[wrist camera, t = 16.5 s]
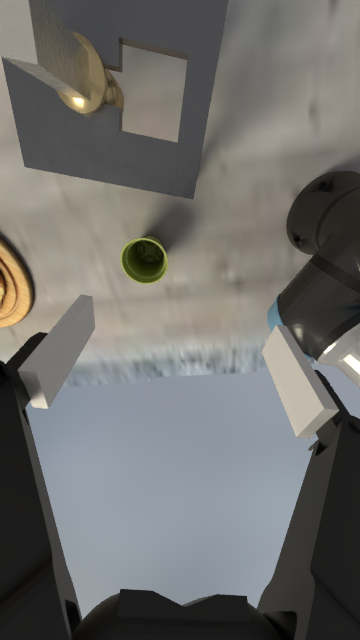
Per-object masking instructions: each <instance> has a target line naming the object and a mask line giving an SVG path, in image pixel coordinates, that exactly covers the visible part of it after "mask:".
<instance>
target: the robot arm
mask: <svg viewBox="0 0 360 640" xmlns="http://www.w3.org/2000/svg"><path fill="white" fill-rule="evenodd" d="M287 234H288V237H289V240H290V241H291V243H292V244H293V245H294V246H295V247H296V248H297V249H299V250H300V251H302V252H304V253H306V254H309V255H314V256H313V257H312V258H311V259H310V260H309V261H308V263H307V264H306V265H305V266H304V267H303V268H302V270H301V271H300V272H299V273H298V274H297V275H296V277H295V278H294V279H293V280H292V281H291V282H290V284H289V285H288V286H287V287H286V288H285V289H284V290H283V292H282V293H281V294H279V295H278V296H277V298H276V301H275V302H274V303H273V305H272V306H271V307H270V308H269V310H268V313H267V322H268V325H269V327H270V329H271V331H272V333H271V335H270V337H269V339H268V341H267V343H266V345H265V346H264V348H263V350H262V354H263V356H264V359H265V361H266V364H267V366H268V368H269V371H270V373H271V376H272V378H273V381H274V383H275V386H276V388H277V390H278V393H279V395H280V398H281V400H282V403H283V405H284V408H285V410H286V413H287V415H288V418H289V420H290V422H291V425H292V427H293V430H294V432H295V435H296V437H302V438H310V437H311V436H313V435H314V434H315V433H316V434H317V436H318V438H319V439H318V440H317V441H316V442H315V443H314V444H313V445H312V446H310V448H309V449H308V450H310V451H311V450H312V449H313V448H314V449H313V452H312V456H311V458H310V462H309V465H308V468H307V471H306V474H305V478H304V480H303V484H302V487H301V490H300V493H299V496H298V499H297V502H296V506H295V509H294V512H293V515H292V518H291V521H290V525H289V528H288V531H287V534H286V537H285V541H284V544H283V547H282V550H281V553H280V556H279V559H278V562H277V565H276V569H275V572H274V575H273V577H272V579H271V581H270V583H269V584H268V585H267V587H266V588H265V590H264V592H263V594H262V596H261V599H260V601H259V604H258V607H257V609H256V608H254V607H253V606H251V605H250V604H249V603H248V602H247V596H237V595H219V594H217V595H212V596H208V597H203V598H199V599H197V600H194V601H192V602H189V603H187V604H184V605H182V606H181V605H179V604H177V603H175V602H173V601H172V600H170V599H168V598H166V597H163V596H161V595H160V594H158V593H156V592H154V591H147V590H128V589H121V590H120V593H118V594H116V595H113V596H111V597H109V598H107V599H106V600H104V601H102V602H101V603H100V604H99V605H97V606H96V607H95V608H94V609H93V610H92V611H91V612H90V613H89V614H88V615H87V616H86V617H85V618H84V619H83V620H82V616H81V613H80V609H79V605H78V601H77V597H76V593H75V590H74V587H73V583H72V580H71V577H70V574H69V571H68V569H67V566H66V562H65V558H64V554H63V550H62V546H61V542H60V539H59V535H58V531H57V527H56V523H55V519H54V516H53V512H52V508H51V504H50V500H49V496H48V492H47V489H46V485H45V481H44V477H43V473H42V469H41V465H40V461H39V458H38V454H37V450H36V446H35V442H34V438H33V435H32V431H31V427H30V423H29V419H28V415H27V411H26V409H25V407H26V405H27V404H28V402H29V401H31V404H32V406H33V407H38V408H47V409H49V407H50V405H51V403H52V402H53V400H54V398H55V397H56V395H57V393H58V392H59V389H60V388H61V386H62V385H63V383H64V381H65V379H66V378H67V376H68V374H69V372H70V371H71V369H72V367H73V365H74V364H75V362H76V360H77V359H78V357H79V355H80V353H81V352H82V350H83V348H84V346H85V345H86V343H87V341H88V339H89V338H90V336H91V334H92V333H93V331H94V329H95V321H94V310H93V298H92V296H86V295H80V296H79V298H78V299H77V300H76V301H75V302H74V303H73V305H72V306H71V307H70V308H69V309H68V311H67V312H66V313H65V314H64V315H63V317H62V318H61V319H60V320H59V321H58V322H57V324H56V325H55V326H54V327H53V328H52V330H51V331H50V332H49V333H42V332H39V333H37V334H36V335H34V336H32V337H30V338H29V339H28V341H27V342H26V343H25V344H24V346H22V347H21V348H20V349H19V351H17V352H16V354H15V355H14V356H13V357H12V358H11V359H10V360H9V361H8V362H7V363H6V364H5V363H4V362H2V361H0V640H360V419H359V418H357V417H354V416H351V415H350V414H349V412H348V411H347V409H346V408H345V406H344V405H343V403H342V402H341V400H340V399H339V397H338V396H337V394H336V393H335V392H334V390H333V388H332V387H331V386H330V384H329V382H328V381H327V379H326V378H325V376H323V375H322V374H321V373H320V372H319V371H318V370H314V369H313V368H312V366H311V365H310V363H309V361H308V360H307V359H312V358H314V359H315V360H316V361H317V362H318V363H319V364H324V365H333V366H336V367H338V368H339V369H340V370H341V371H342V372H343V373H344V374H345V375H346V376H347V377H348V378H349V379H350V380H351V381H352V382H354V383H355V384H356V385H357V386H358V387H359V388H360V174H359V173H356V172H351V171H336V172H331V173H328V174H325V175H323V176H321V177H319V178H317V179H315V180H314V181H313V182H311V183H310V184H309V185H308V186H306V187H305V188H304V189H303V190H302V191H301V193H300V194H299V195H298V196H297V198H296V199H295V201H294V203H293V204H292V206H291V209H290V211H289V214H288V218H287Z"/></svg>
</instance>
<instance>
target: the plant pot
mask: <svg viewBox="0 0 360 640" xmlns="http://www.w3.org/2000/svg"><path fill="white" fill-rule="evenodd" d="M140 246H141V252H140V251H139V247H140ZM160 248H161V254H160ZM149 249H151V251H149ZM147 259H153V260H152V261H149V260H147ZM120 261H121V266H122V268H123V270H124V272H125V274H126V275H127V276H128V277H129V278H130V279H132V280H133V281H135V282H137V283H140V284H153V283H156V282H158V281H159V280H161V279H162V278H163V277H164V276H165V274H166V272H167V269H168V257H167V254H166V252H165V250H164V248H163V245H162V243H161V242H160V241H159V240H158V239H157V238H155V237H153V236H146V237H143V238H136V239H133V240H131V241H129V242H128V243H127V244H126V245H125V246H124V247H123V249H122V252H121V256H120Z"/></svg>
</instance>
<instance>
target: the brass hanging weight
mask: <svg viewBox="0 0 360 640" xmlns="http://www.w3.org/2000/svg"><path fill="white" fill-rule="evenodd" d="M0 56H1V57H3V58H4V59H6V60H8V61H9V62H11V63H13V64H14V65H16V66H18V67H19V68H21V69H23V70H24V71H26V72H28V73H29V74H31V75H33V76H34V77H36V78H38V79H39V80H41V81H43V82H44V83H46V84H48V85H49V86H51V87H53V88H54V89H55V90H56V91H57V93H58V95H59V96H60V98H61V99H62V100H63V102H64V103H65V104H66V105H68V106H69V107H70V108H72V109H73V110H75V111H77V112H79V113H82V114H93V113H95V112H97V111H98V110H99V109H100V108H101V107H102V106H103V104H107V105H112V106H117V107H119V108H121V109H122V113H123V108H124V98H123V93H122V90H121V88H120V86H119V84H118V82H117V81H116V80H115V78H114V77H113V76H112V75H111V73H110V72H109V71H108V70H107V69H105V67H104V64H103V62H102V59H101V57H100V56H99V54H98V52H97V51H96V50H95V48H94V47H93V46H92V44H91V43H90V42H89V41H88V40H87V39H86V38H85V37H83V36H82V35H80V34H78V33H76V32H71V31H70V30H69V29H68V28H67V26H66V25H65V24H64V23H63V22H62V21H61V19H60V18H59V17H58V16H57V15H56V13H55V12H54V11H53V10H52V9H51V8H50V6H49V5H48V4H47V3H46V2H45V0H0Z"/></svg>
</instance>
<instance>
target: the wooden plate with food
mask: <svg viewBox="0 0 360 640" xmlns="http://www.w3.org/2000/svg"><path fill="white" fill-rule="evenodd" d="M32 304H33V288H32V284H31V280H30V277H29V275H28V273H27V271H26V269H25V267H24V265H23V264H22V262H21V261H20V259H19V258H18V256H17V255H16V254H15V253H14V251H13V250H12V249H11V248H10V247H9V246H8V245H7V244H6V243H5V242H4V241H3V240H2V239H1V238H0V327H6V326H10V325H13V324H16V323H18V322H20V321H21V320H23V319H24V318H25V317H26V316H27V314H28V313H29V312H30V310H31V308H32Z"/></svg>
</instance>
